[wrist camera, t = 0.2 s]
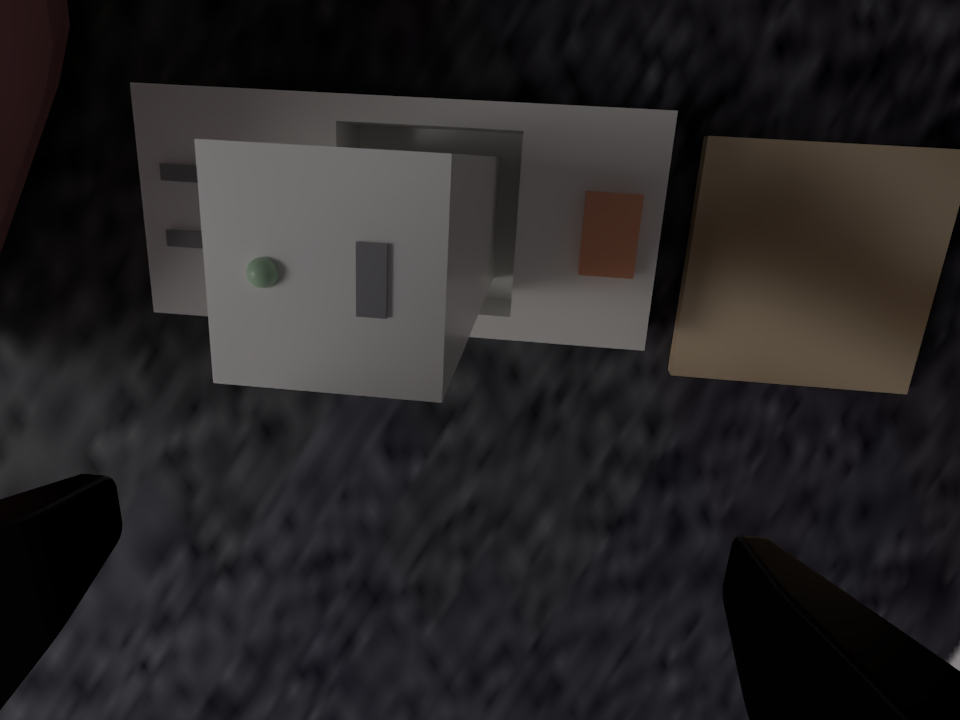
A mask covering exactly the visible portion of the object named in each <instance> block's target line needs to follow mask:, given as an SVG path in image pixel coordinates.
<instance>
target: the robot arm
mask: <svg viewBox="0 0 960 720" xmlns="http://www.w3.org/2000/svg"><path fill="white" fill-rule="evenodd" d="M121 532H122V518H121V512H120V506H119V499H118V493H117V487H116V484H115V482H114V480H113V479H112V478H110V477H109V476H104V475H93V474H80V475H77V476H74V477H70V478H67V479H64V480H61V481H58V482H54V483H51V484H48V485H45V486H42V487H38V488H35V489H32V490H29V491H26V492H22V493H19V494H16V495H13V496H10V497H6V498H3V499H0V710H1V709H2V707H3V706H4V705H5V703H6V702H7V701H8V699H9V698H10V697H11V696H12V694H13V693H14V692H15V690H16V689H17V688H18V687H19V685H20V684H21V683H22V681H23V680H24V679H25V677H26V676H27V675H28V674H29V672H30V671H31V670H32V668H33V667H34V666H35V665H36V663H37V662H38V661H39V659H40V658H41V657H42V655H43V654H44V653H45V652H46V650H47V649H48V648H49V646H50V645H51V644H52V642H53V641H54V640H55V638H56V637H57V636H58V634H59V633H60V631H61V630H62V629H63V627H64V626H65V624H66V623H67V621H68V620H69V618H70V617H71V615H72V614H73V612H74V610H75V609H76V607H77V606H78V604H79V603H80V601H81V599H82V598H83V596H84V595H85V593H86V592H87V590H88V588H89V587H90V585H91V584H92V582H93V580H94V579H95V577H96V576H97V574H98V573H99V571H100V569H101V568H102V566H103V565H104V563H105V562H106V560H107V558H108V557H109V555H110V554H111V552H112V551H113V549H114V547H115V546H116V544H117V543H118V541H119V538H120V536H121ZM723 602H724V608H725V612H726V617H727V622H728V627H729V632H730V636H731V641H732V646H733V651H734V656H735V660H736V665H737V670H738V675H739V680H740V684H741V689H742V693H743V698H744V702H745V706H746V710H747V713H748V716H749V720H960V671H958V670H957V669H956V668H954V667H953V666H952V665H950V664H949V663H947V662H946V661H944V660H943V659H941V658H940V657H938V656H937V655H936V654H934V653H933V652H931V651H930V650H928V649H927V648H925V647H924V646H923V645H921V644H920V643H918V642H917V641H915V640H914V639H912V638H911V637H910V636H908V635H907V634H905V633H904V632H902V631H901V630H899V629H898V628H897V627H895V626H894V625H892V624H891V623H889V622H888V621H886V620H885V619H884V618H882V617H881V616H879V615H878V614H876V613H875V612H873V611H872V610H871V609H869V608H868V607H866V606H865V605H863V604H862V603H860V602H859V601H857V600H856V599H855V598H853V597H852V596H850V595H849V594H847V593H846V592H844V591H843V590H842V589H840V588H839V587H837V586H836V585H834V584H833V583H831V582H830V581H829V580H827V579H826V578H824V577H823V576H821V575H820V574H818V573H817V572H816V571H814V570H813V569H811V568H810V567H808V566H807V565H805V564H804V563H803V562H801V561H800V560H798V559H797V558H795V557H794V556H792V555H791V554H790V553H788V552H787V551H785V550H784V549H782V548H781V547H779V546H778V545H776V544H775V543H774V542H772V541H771V540H769V539H767V538H764V537H754V536H743V535H740V536H737V537H736V538H735V539H734V541H733V543H732V546H731V550H730V555H729V559H728V564H727V569H726V573H725V578H724V583H723Z"/></svg>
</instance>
